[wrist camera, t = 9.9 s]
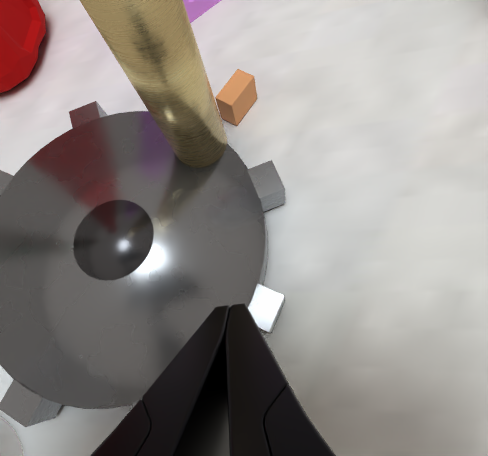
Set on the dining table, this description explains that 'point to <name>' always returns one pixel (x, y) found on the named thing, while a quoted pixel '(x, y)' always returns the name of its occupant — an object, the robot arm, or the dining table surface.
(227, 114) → the orange rectangular block
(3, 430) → the white brass knuckles
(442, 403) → the dining table surface
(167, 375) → the robot arm
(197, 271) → the sprocket
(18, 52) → the water bottle
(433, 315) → the dining table surface
